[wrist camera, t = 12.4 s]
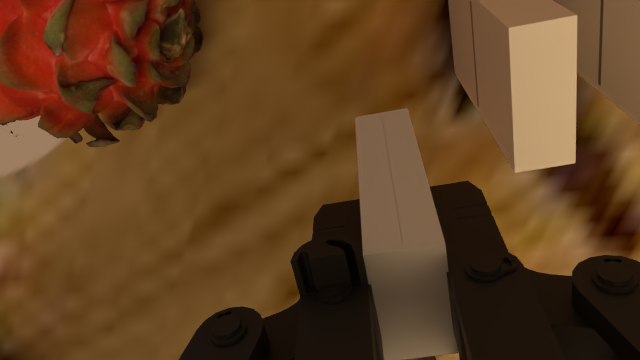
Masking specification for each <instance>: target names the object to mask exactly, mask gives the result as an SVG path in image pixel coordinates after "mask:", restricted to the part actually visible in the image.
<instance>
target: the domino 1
mask: <svg viewBox="0 0 640 360" xmlns="http://www.w3.org/2000/svg"><path fill="white" fill-rule="evenodd" d="M448 6H449V17H450V28H451V39H452V49H453V60H454V71H455V74H456V76H457V78H458V79H459V81H460V83H461V84H462V86H463V88H464V89H465V91H466V93H467V94H468V96H469V98H470V99H471V101H472V102H473V104H474V106H475V107H476V109H477V111H478V112H479V114H480V116H481V117H482V119H483V121H484V122H485V124H486V126H487V127H488V129H489V131H490V132H491V134H492V136H493V137H494V139H495V141H496V142H497V144H498V146H499V147H500V149H501V151H502V152H503V154H504V156H505V157H506V159H507V161H508V162H509V164H510V165H511V167H512V169H513V170H514V172H515V173H517V172H524V171H530V170H536V169H542V168H548V167H554V166H561V165H567V164H573V163H575V157H576V82H577V14H575V13H573V12H572V11H570V10H568V9H566V8H565V7H563V6H561V5H560V4H558V3H556V2H554V1H553V0H448Z"/></svg>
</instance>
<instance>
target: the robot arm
mask: <svg viewBox="0 0 640 360" xmlns="http://www.w3.org/2000/svg"><path fill="white" fill-rule="evenodd" d="M355 127H356V144H357V161H358V178H359V196H360V199H358V200H351V201H345V202H338V203H332V204H326V205H323V206H322V207H321V208H320V210H319V211H318V213H317V214H316V215H315V217H314V223H313V236H312V240H311V241H309V242H307V243H305V244H303V245H302V246H301V247H300V248H299V249H298V250H297V251H296V252H295V253H294V255H293V257H292V259H291V264H292V268H293V272H294V275H295V279H296V282H297V286H298V290H299V293H300V300H299V301H298V302H296V303H295V304H294V305H292V306H291V307H289V308H287V309H285V310H283V311H281V312H279V313H276V314H274V315H271V316H268V317H266V318H263V319H262V318H261V315H260V314H259V313H258V312H256V311H255V310H254V309H251V308H246V307H233V308H228V309H225V310H222V311H220V312H217V313H215V314H214V315H212V316H211V317H209V318H208V319H206V320H205V321H204V322H203V323H202V325H201V326H200V327H199V328H198V329H197V331H196V332H195V334H194V336H193V337H192V339H191V340H190V342H189V344H188V345H187V347H186V349H185V350H184V352H183V354H182V355H181V357H180V359H179V360H403V359H412V358H420V357H429V356H437V355H445V354H454V353H458V351H459V357H460V360H640V262H638V261H636V260H633V259H629V258H626V257H622V256H611V255H602V256H596V257H590V258H588V259H586V260H584V261H582V262H580V263H578V265H577V266H576V267H575V268H574V270H573V271H572V276H564V275H551V274H545V273H539V272H536V271H532V270H529V269H527V268H525V267H524V266H523V264H522V263H521V262H520V261H519V259H518V258H517V257H516V256H514V255H512V254H510V253H509V252H508V250H507V248H506V245H505V243H504V241H503V238H502V236H501V234H500V232H499V229H498V227H497V225H496V222H495V220H494V218H493V216H492V214H491V211H490V209H489V206H488V205H487V202H486V200H485V197H484V195H483V193H482V190H480V189H479V188H477V187H476V186H475V185H473V184H472V183H470V182H469V181H464V182H457V183H451V184H445V185H438V186H432V187H429V183H428V180H427V176H426V172H425V169H424V165H423V162H422V158H421V155H420V151H419V147H418V144H417V140H416V137H415V133H414V129H413V126H412V122H411V119H410V115H409V111H408V108H405V109H399V110H393V111H388V112H382V113H376V114H370V115H365V116H359V117H355ZM457 347H458V348H457Z"/></svg>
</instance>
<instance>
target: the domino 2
mask: <svg viewBox="0 0 640 360" xmlns="http://www.w3.org/2000/svg"><path fill="white" fill-rule="evenodd" d="M554 2H556V3H558V4H560V5H561V6H563V7H565V8H566V9H568V10H570V11H572V12H573V13H575V14H577V74H578V75H580V76H581V77H582V78H583V79H584V80H586V81H587V82H588V83H589V84H591V85H592V86H593V87H594V88H595V89H597V90H598V91H599V92H600V93H602V94H603V95H604V96H605V97H606V98H608V99H609V100H610V101H611V102H613V103H614V104H615V105H616V106H617V107H619V108H620V109H621V110H622V111H623V112H625V113H626V114H627V115H628V116H630V117H631V118H632V119H633V120H634V121H636V122H637V123H638V124H639V125H640V0H554Z"/></svg>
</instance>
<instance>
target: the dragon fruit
mask: <svg viewBox="0 0 640 360" xmlns="http://www.w3.org/2000/svg"><path fill="white" fill-rule="evenodd" d="M199 21H200V13H199V10H198V8H197V6H196V4H195V1H194V0H0V124H1V125H5V124H7V123H9V122H15V121H16V120H28V119H32V118H35V117H37V116H40V115H41V117H40V120H39V123H38V127H39V128H41V129H43V130H45V131H47V132H48V133H50V134H51V135H53V136H54V137H56V138H67V137H69V138H70V139H71V140H73V141H74V143H78V142H81V141H82V140H83V138H82V136H81V135H80V134H79V133H78V131H80V130H81V129H82V128H84V129H85V131H86V132H87V133H88V134H89V135H91V136H93V137H94V138H96V140H94V141H91V142H88V143H86V144H87V145H88V146H89V147H106V146H108V145H110V144H114V143H117V142H119V141H120V140H118V139H117V138H115V137H114V136H113V135H112V133H111V132H110V131H109V130H108V129H107V127H106V126H105V124H104V123H106V124H107V125H109V126H110V127H111V128H113V129H115V130H135V129H140V128H141V127H142V126H143V124H144V122H145V120H146V121H149V122H151V121H153V120H154V119H155V118H156V116H157V110H158V105H157V104H166V103H168V104H177V103H179V102H180V101H181V100H182V99H183V97H184V94H185V92H186V85H187V83H188V81H189V78H190V71H191V69H190V66H189V63H188V60H189V59H190V58H191V57H192V56H193V55H194V54H195V53H196V52H198V51H199V50H200V48H201V46H202V41H203V33H202V31H201V30H200V29H199V28H198V27H197V25H198V23H199ZM101 120H102V121H103V122H104V123H103V122H102V121H101ZM11 133H13V132H12V131H11Z"/></svg>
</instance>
